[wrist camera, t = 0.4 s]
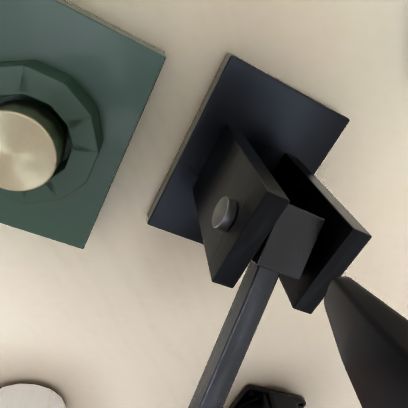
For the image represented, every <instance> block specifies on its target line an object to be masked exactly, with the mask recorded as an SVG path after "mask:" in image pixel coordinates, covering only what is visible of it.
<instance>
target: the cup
mask: <svg viewBox="0 0 408 408" xmlns="http://www.w3.org/2000/svg"><path fill="white" fill-rule="evenodd" d="M0 408H66V405H65V404H64V402H63V400H62V398H61V396H59V395H58V394H56V393H55V392H54V391H52V390H51V389H49V388H45V387H42V386H39V385H35V384H15V385H10V386H5V387H3V388H1V389H0Z"/></svg>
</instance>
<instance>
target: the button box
mask: <svg viewBox="0 0 408 408" xmlns="http://www.w3.org/2000/svg"><path fill="white" fill-rule="evenodd" d="M165 59H166V56H165V52H163V51H162V50H160V49H158V48H156V47H154V46H152V45H150V44H148V43H146V42H144V41H142V40H140V39H138V38H136V37H135V36H133V35H131V34H129V33H127V32H125V31H123V30H121V29H119V28H117V27H115V26H113V25H111V24H109V23H108V22H106V21H104V20H102V19H100V18H98V17H96V16H94V15H92V14H90V13H88V12H86V11H84V10H82V9H81V8H79V7H77V6H75V5H73V4H71V3H69V2H67V1H65V0H0V104H1V103H3V102H6V101H10V100H27V101H31V102H34V103H37V104H39V105H41V106H43V107H44V108H46V109H47V110H49V111H50V112H51V113H52V114H53V115H54V116H55V117H56V118H57V119H58V121H59V122H60V124H61V126H62V128H63V130H64V133H65V137H66V150H65V154H64V156H63V158H62V160H61V162H60V163H59V165H58V167H57V168H56V170H55V172H54V173H53V175H52V176H51V178H50V179H49V180H48V181H47V182H46V183H45V184H43V185H42V186H40V187H38V188H35V189H32V190H27V191H11V190H6V189H3V188H0V223H3V224H6V225H9V226H12V227H16V228H19V229H22V230H25V231H28V232H31V233H34V234H37V235H41V236H44V237H47V238H50V239H53V240H56V241H59V242H62V243H66V244H69V245H72V246H75V247H78V248H81V249H83V248H84V246H85V244H86V242H87V240H88V237H89V235H90V233H91V230H92V228H93V226H94V223H95V221H96V219H97V216H98V214H99V212H100V209H101V207H102V205H103V202H104V200H105V198H106V196H107V193H108V191H109V189H110V186H111V184H112V182H113V179H114V177H115V175H116V172H117V170H118V168H119V165H120V163H121V161H122V159H123V156H124V154H125V152H126V149H127V147H128V145H129V142H130V140H131V138H132V135H133V133H134V131H135V128H136V126H137V124H138V121H139V119H140V117H141V115H142V112H143V110H144V108H145V105H146V103H147V101H148V98H149V96H150V94H151V91H152V89H153V87H154V84H155V82H156V80H157V78H158V75H159V73H160V71H161V68H162V66H163V64H164V61H165Z"/></svg>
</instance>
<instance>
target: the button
mask: <svg viewBox="0 0 408 408" xmlns="http://www.w3.org/2000/svg"><path fill="white" fill-rule="evenodd" d="M65 150H66V137H65V133H64V130H63V128H62V126H61V124H60V122H59V121H58V119H57V118H56V117H55V116H54V115H53V114H52V113H51V112H50V111H49V110H47V109H46V108H44V107H43V106H41V105H39V104H37V103H34V102H31V101H27V100H10V101H6V102H3V103H1V104H0V188H3V189H6V190H11V191H27V190H32V189H35V188H38V187H40V186H42V185H43V184H45V183H46V182H47V181H48V180H49V179H50V178H51V176H52V175H53V173H54V172H55V170H56V168H57V167H58V165H59V163H60V162H61V160H62V158H63V156H64V154H65Z"/></svg>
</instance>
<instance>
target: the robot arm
mask: <svg viewBox="0 0 408 408" xmlns="http://www.w3.org/2000/svg"><path fill="white" fill-rule="evenodd" d="M324 305H325V309H326V312H327V315H328V318H329V322H330V325H331V328H332V331H333V334H334V337H335V340H336V344H337V347H338V350H339V353H340V356H341V359H342V361H343V364H344V366H345V369H346V371H347V373H348V376H349V378H350V380H351V383H352V385H353V387H354V390H355V392H356V394H357V396H358V399H359V401H360V403H361V406H362V408H408V320H407V319H406V318H404V317H403V316H402V315H400V314H399V313H397V312H396V311H395V310H393V309H392V308H391V307H389V306H388V305H387V304H385V303H384V302H382V301H381V300H380V299H378V298H377V297H376V296H374V295H373V294H372V293H370V292H369V291H367V290H366V289H365V288H363V287H362V286H361V285H359V284H358V283H357V282H355V281H354V280H352V279H351V278H349V277H346V276H344V277H334V278H332V279H331V281H330V284H329V287H328V289H327V292H326V295H325V298H324ZM305 405H306V402H305V400H304V398H302V397H299V396H294V395H290V394H286V393H282V392H278V391H274V390H269V389H265V388H261V387H257V386H253V385H249V386H246V387H245V388H244V390H243V391H242V392H241V393H240V395H239V396H238V397H237V399H236V400H235V401H234V402H233V404H232V405H231V406H230V408H303V407H304V406H305Z"/></svg>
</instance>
